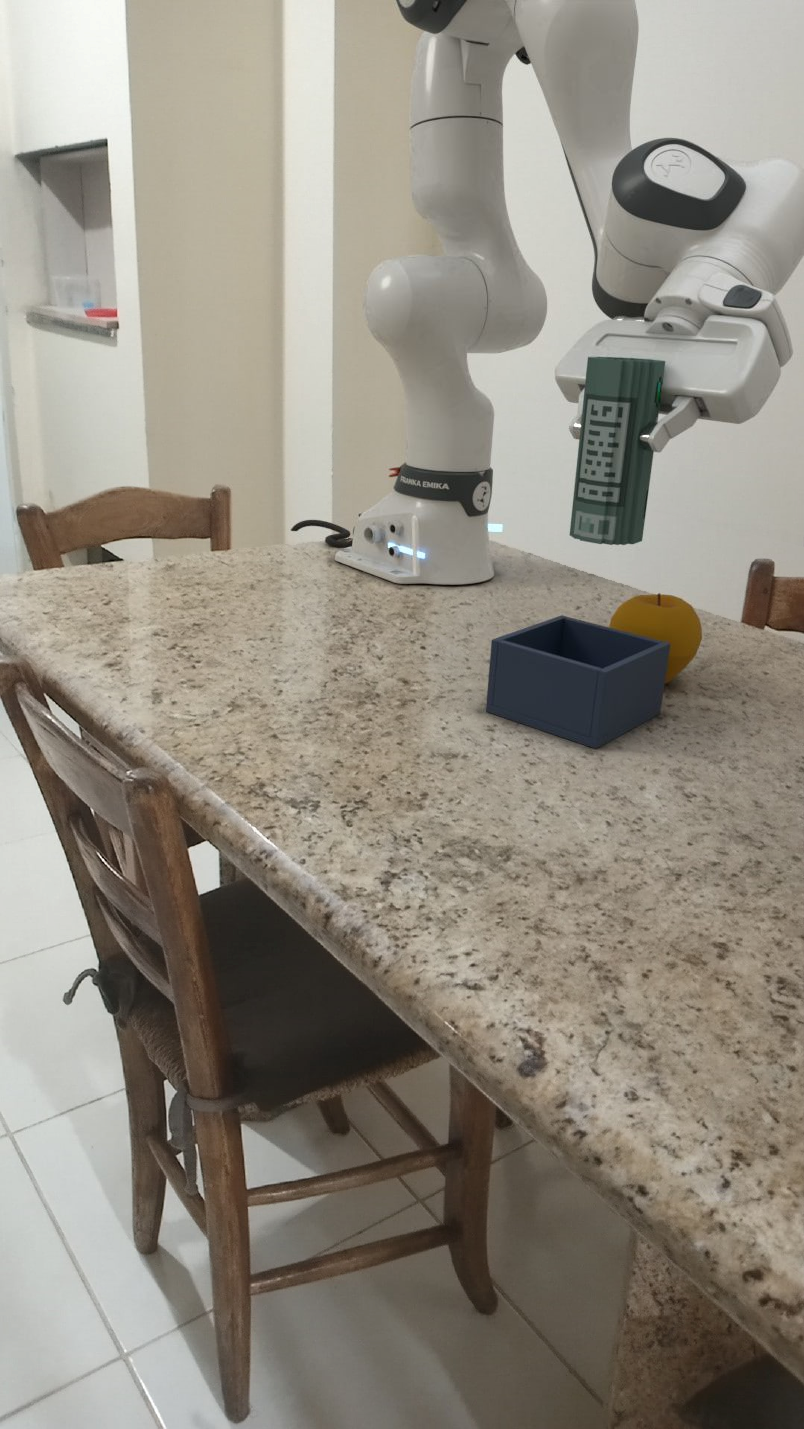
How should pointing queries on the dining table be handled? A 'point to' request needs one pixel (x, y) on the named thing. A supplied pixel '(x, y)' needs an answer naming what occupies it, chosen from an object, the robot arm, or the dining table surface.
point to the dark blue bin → (577, 679)
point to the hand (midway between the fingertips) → (612, 440)
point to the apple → (662, 626)
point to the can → (615, 449)
